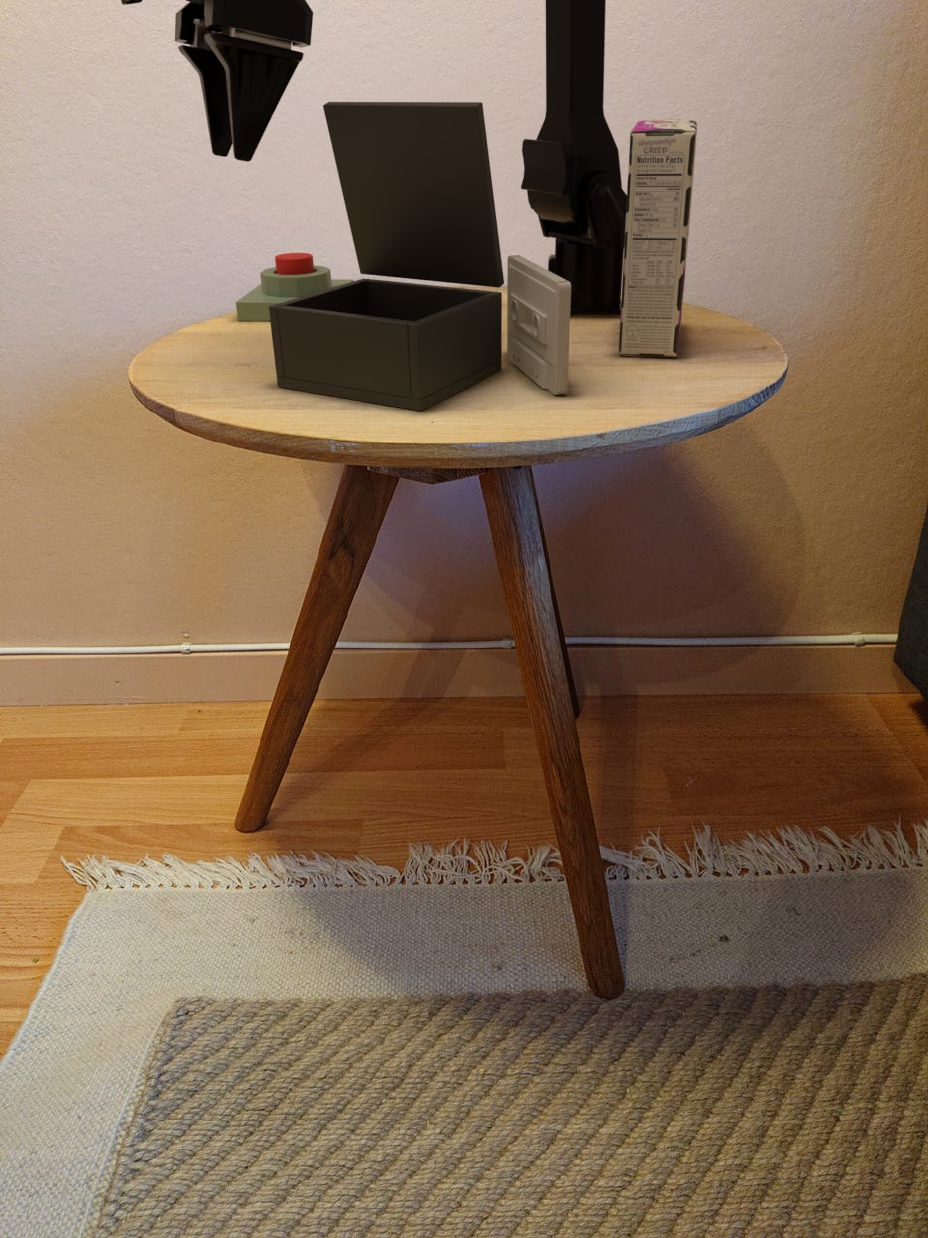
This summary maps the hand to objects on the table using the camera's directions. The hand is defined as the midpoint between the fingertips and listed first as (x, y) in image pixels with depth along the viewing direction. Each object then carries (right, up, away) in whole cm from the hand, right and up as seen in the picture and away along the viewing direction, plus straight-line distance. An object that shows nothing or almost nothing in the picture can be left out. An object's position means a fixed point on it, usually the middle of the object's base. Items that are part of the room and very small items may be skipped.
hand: (230, 157), depth 70 cm
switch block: (+1, -3, +24) cm, 25 cm away
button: (+1, 0, +23) cm, 23 cm away
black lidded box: (+12, -15, +2) cm, 19 cm away
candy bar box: (+33, -10, +11) cm, 36 cm away
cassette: (+22, -15, +3) cm, 27 cm away
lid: (+13, -3, -1) cm, 14 cm away
